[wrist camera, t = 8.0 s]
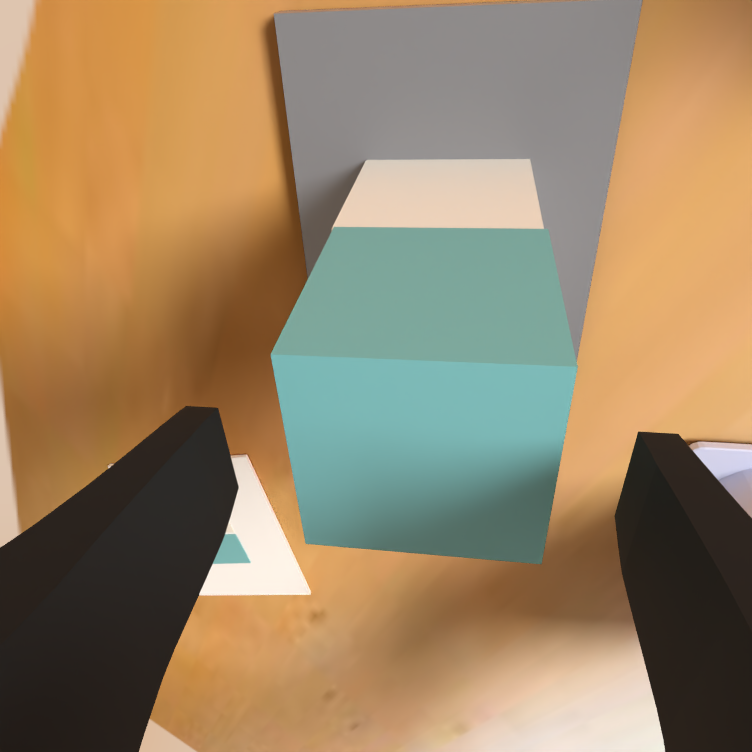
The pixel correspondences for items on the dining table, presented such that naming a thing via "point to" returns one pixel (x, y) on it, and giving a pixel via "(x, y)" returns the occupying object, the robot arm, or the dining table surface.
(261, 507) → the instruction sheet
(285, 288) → the dining table surface
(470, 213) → the cream brick
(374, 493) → the teal brick
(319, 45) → the plate
